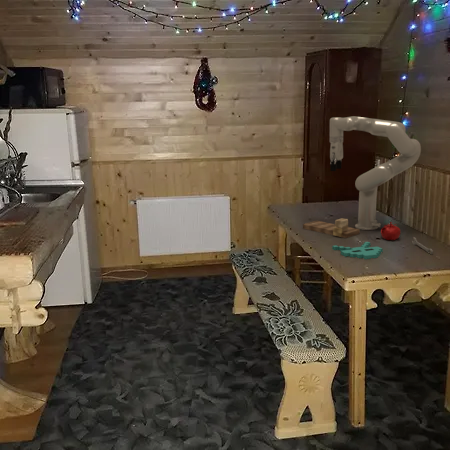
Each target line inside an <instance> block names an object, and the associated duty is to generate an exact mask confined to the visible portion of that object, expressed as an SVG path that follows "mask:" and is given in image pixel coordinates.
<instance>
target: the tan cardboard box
mask: <svg viewBox="0 0 450 450" xmlns="http://www.w3.org/2000/svg"><path fill="white" fill-rule="evenodd" d="M334 224H335V227H334V228H333V235H332V236H334V235H335V237H339V238H343V237H342V232H344V231H347V230H348V227H349V219H348V218H339V219H335V220H334Z"/></svg>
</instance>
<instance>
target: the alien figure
mask: <svg viewBox="0 0 450 450" xmlns="http://www.w3.org/2000/svg"><path fill="white" fill-rule="evenodd" d="M371 245H372V244H371V242H370V241H365V242H364V243H362V245H360V246H356V247H350V246H346V247H345V246H343V245H341V246H338V245H335V244H334V245H332V246H331V249H332V250H333V251H339V250H340V255H341V256H343V257H344V258H346V257H347V256H348V257H350V258H351V257H353V258H356V257H357V259H358V258H359V259H363V258H364V259H363V260H371V258H373V259H377V258H379V257H380V255H382V253H383V251H384V248H382V247H379V246H371ZM381 252H382V253H381Z"/></svg>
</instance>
